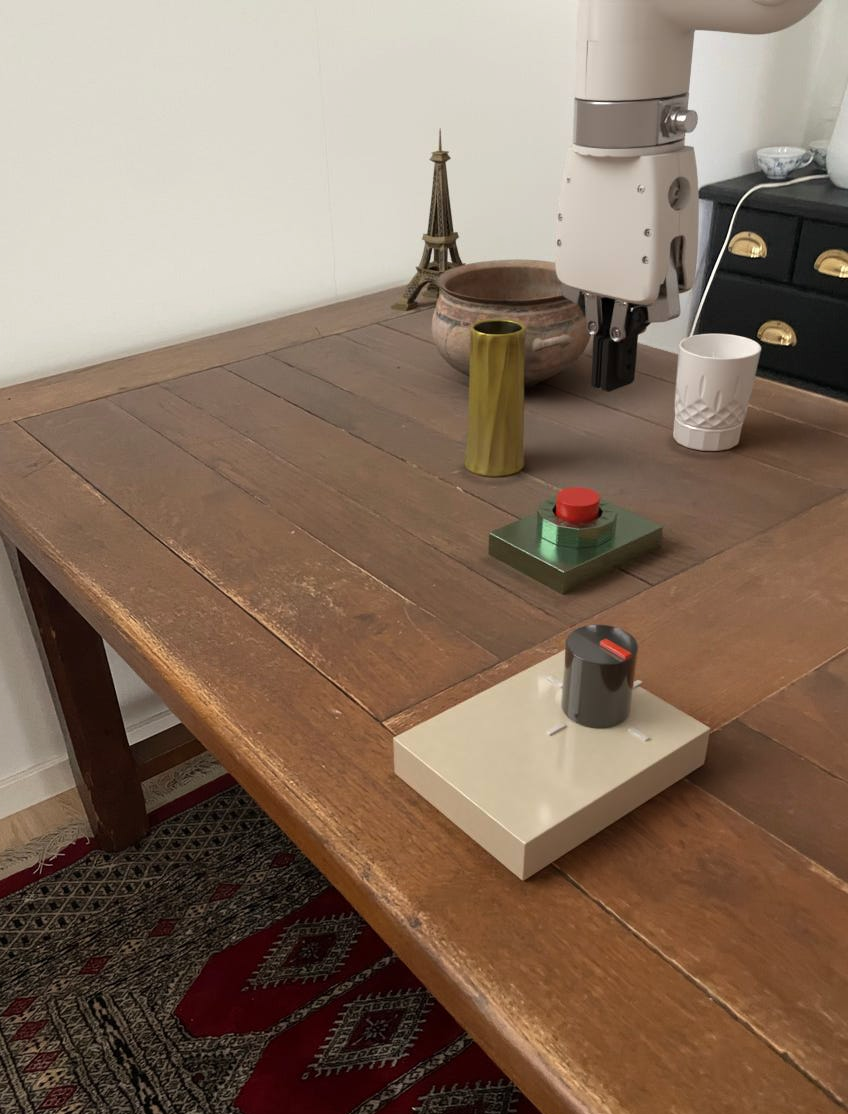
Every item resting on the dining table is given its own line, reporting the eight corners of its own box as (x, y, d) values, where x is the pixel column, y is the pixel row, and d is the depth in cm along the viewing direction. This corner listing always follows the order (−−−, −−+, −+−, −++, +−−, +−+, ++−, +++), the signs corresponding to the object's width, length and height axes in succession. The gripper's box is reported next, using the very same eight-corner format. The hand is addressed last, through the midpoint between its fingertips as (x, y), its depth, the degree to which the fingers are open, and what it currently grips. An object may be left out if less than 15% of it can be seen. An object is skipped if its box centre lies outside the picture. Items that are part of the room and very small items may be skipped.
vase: (500, 483, 101) (505, 340, 94) (452, 467, 105) (452, 328, 97) (535, 462, 105) (543, 323, 97) (488, 448, 109) (491, 313, 101)
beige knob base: (571, 678, 74) (574, 642, 72) (707, 762, 66) (714, 724, 64) (393, 773, 66) (392, 735, 65) (522, 881, 58) (525, 842, 56)
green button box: (584, 513, 95) (587, 473, 93) (660, 548, 89) (665, 507, 87) (488, 554, 90) (489, 513, 87) (562, 595, 84) (565, 552, 81)
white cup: (655, 444, 108) (667, 351, 102) (683, 419, 113) (695, 329, 107) (730, 460, 104) (746, 363, 98) (755, 433, 109) (771, 340, 103)
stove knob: (546, 704, 67) (551, 636, 64) (594, 679, 69) (601, 612, 66) (596, 737, 64) (603, 668, 61) (644, 710, 66) (654, 642, 63)
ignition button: (576, 501, 90) (577, 483, 89) (607, 515, 87) (609, 497, 86) (546, 514, 88) (547, 495, 87) (577, 528, 85) (579, 510, 84)
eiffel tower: (489, 300, 154) (494, 115, 140) (449, 318, 147) (449, 126, 133) (432, 290, 160) (431, 112, 146) (391, 308, 153) (385, 122, 139)
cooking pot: (400, 361, 133) (398, 264, 126) (532, 340, 137) (536, 245, 131) (481, 429, 113) (483, 318, 106) (631, 402, 118) (643, 294, 111)
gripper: (757, 124, 66) (722, 396, 77) (587, 111, 77) (576, 352, 87) (680, 141, 63) (654, 423, 73) (513, 125, 73) (511, 375, 83)
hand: (612, 384), depth 80 cm, fingers closed
